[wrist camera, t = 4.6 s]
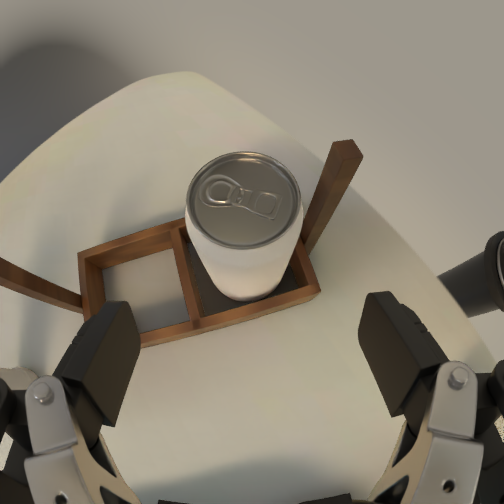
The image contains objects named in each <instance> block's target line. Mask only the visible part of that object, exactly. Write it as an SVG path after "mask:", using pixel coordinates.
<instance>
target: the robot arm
mask: <svg viewBox="0 0 504 504" xmlns="http://www.w3.org/2000/svg"><path fill="white" fill-rule="evenodd" d="M496 266H497V272H498V277H499V280H500V283H501V286H502V288H503V290H504V239H503V240H501V241H500V243H499V244H498V247H497V252H496ZM421 322H422V321H421V320H420V319H419V317H418V316H417V315H416V314H415V312H414V311H412V310H411V309H410V308H408V307H407V306H405V305H404V304H400V303H399V302H398V301H397V299H396V298H395V297H394V295H393V294H392V293H391V292H390V291H384V292H374V293H369V294H368V295H367V296H366V299H365V304H364V308H363V312H362V316H361V320H360V324H359V328H358V340H359V344H360V346H361V349H362V351H363V353H364V355H365V357H366V359H367V362H368V364H369V366H370V368H371V371H372V373H373V375H374V377H375V380H376V382H377V384H378V387H379V389H380V391H381V394H382V396H383V398H384V401H385V403H386V405H387V408H388V410H389V413H390V415H391V418H392V417H396V416H399V415H402V414H404V416H405V418H406V420H405V422H404V423H403V426H402V429H401V432H400V434H399V437H398V440H397V443H396V445H395V448H394V451H393V453H392V456H391V458H390V461H389V463H388V465H387V468H386V470H385V472H384V473H383V475H382V476H381V478H380V479H379V480H378V482H377V483H376V485H375V486H374V488H373V490H372V491H371V493H370V495H369V497H368V499H367V501H366V500H352V499H351V495H350V493H347V494H343V495H338V496H334V497H329V498H324V499H318V500H312V501H305V502H302V503H299V504H472V503H473V500H474V496H475V492H476V488H477V492H478V495H479V499H480V502H481V504H504V444H503V442H502V439H501V437H500V435H499V433H498V430H497V428H496V426H495V424H494V422H495V421H496V420H497V419H498V418H499V417H500V416H501V415H502V416H503V418H504V360H501V361H499V362H498V364H497V365H496V367H495V368H494V370H493V371H492V373H477V374H475V373H474V371H473V370H472V369H471V368H470V367H469V366H468V365H466V364H464V363H462V362H459V361H449V359H448V358H447V356H446V355H445V353H444V352H443V350H442V349H441V348H440V346H439V345H438V343H437V342H436V341H435V339H434V338H433V336H432V335H431V334H430V332H428V331H427V328H426V327H425V325H424V324H422V323H421ZM140 349H141V339H140V335H139V332H138V329H137V326H136V323H135V320H134V317H133V314H132V310H131V307H130V305H129V303H128V302H127V301H106V302H105V303H104V304H103V306H102V307H101V309H100V310H99V312H98V313H97V315H95V314H94V315H93V316H92V317H91V318H89V319H88V320H87V321H86V322H84V323H83V325H82V326H81V328H80V330H79V331H78V333H77V336H75V338H74V339H73V341H72V344H70V346H69V347H68V349H67V351H66V352H65V354H64V356H63V357H62V359H61V361H60V362H59V364H58V366H57V368H56V369H55V371H54V373H53V375H52V376H42V377H39V378H37V379H36V380H34V381H33V382H32V383H31V384H30V385H29V387H28V388H27V390H11V388H10V387H9V386H8V385H7V383H6V382H5V381H4V380H3V379H2V378H0V443H1V441H2V438H3V435H4V433H5V432H6V433H7V434H8V435H9V436H10V437H11V438H12V439H13V443H12V446H11V449H10V452H9V455H8V458H7V461H6V464H5V467H4V469H3V470H2V471H0V504H142V503H141V502H140V500H139V499H138V497H137V496H136V495H135V493H134V492H133V491H132V490H131V489H130V487H129V486H128V485H127V484H126V483H125V481H124V480H123V478H122V476H121V474H120V472H119V470H118V468H117V466H116V464H115V462H114V460H113V458H112V456H111V454H110V452H109V450H108V447H107V445H106V443H105V441H104V438H103V436H102V434H101V433H100V429H101V426H102V425H106V426H111V427H115V424H116V421H117V418H118V415H119V411H120V408H121V405H122V402H123V399H124V396H125V393H126V390H127V387H128V384H129V381H130V378H131V376H132V373H133V370H134V367H135V364H136V362H137V359H138V356H139V353H140ZM158 504H187V503H179V502H171V501H165V500H158Z"/></svg>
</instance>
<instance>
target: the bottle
mask: <svg viewBox="0 0 504 504" xmlns="http://www.w3.org/2000/svg"><path fill="white" fill-rule="evenodd" d="M0 378H2V379H3V380H4V381H5V382H6V383H7V385H8V386H9V387H10V388H11V390H27V388H28V387H29V385H30V384H31V383H32V382H33V381H34V380H36V379H37V378H38V376H37V375H36V374H35V373H34V372H33V371H31V370H29V369H26V368H23V367H15V368H12V369H7V368H0Z"/></svg>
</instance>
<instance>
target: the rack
mask: <svg viewBox="0 0 504 504" xmlns="http://www.w3.org/2000/svg"><path fill="white" fill-rule="evenodd" d="M362 159H363V155H362V153H361V151H360V150H359V148H358V147H357V145H356V144H355V142H354V141H353V140H352V139H350V140H343V141H336V142H333V143H332V146H331V149H330V152H329V154H328V157H327V160H326V163H325V165H324V168H323V171H322V174H321V176H320V179H319V182H318V184H317V187H316V190H315V192H314V195H313V198H312V200H311V203H310V206H309V208H308V211H307V213H306V216H305V219H304V221H303V224H302V228H301V232H300V235H299V238H298V240H297V243H296V246H295V248H294V250H293V253H292V255H291V258H290V260H289V263H290V265H291V268H292V271H293V274H294V277H295V279H296V282H297V285H298V289H295V290H292V291H289V292H286V293H283V294H280V295H276V296H273V297H270V298H267V299H264V300H260V301H257V302H254V303H250V304H247V305H244V306H240V307H237V308H234V309H230V310H227V311H223V312H220V313H216V314H213V315H209V316H206V315H205V312H204V308H203V304H202V301H201V297H200V293H199V289H198V285H197V282H196V278H195V274H194V270H193V266H192V261H191V257H190V253H189V249H188V245H187V243H190V242H192V241H191V239H190V237H189V234H188V231H187V227H186V222H185V217H184V218H181V219H178V220H174V221H171V222H168V223H165V224H161V225H158V226H155V227H152V228H149V229H146V230H142V231H139V232H136V233H133V234H130V235H127V236H124V237H121V238H118V239H115V240H112V241H109V242H107V243H104V244H101V245H98V246H95V247H92V248H90V249H87V250H84V251H81V252H78V253H77V254H78V271H79V283H80V292H81V295H79V294H76V293H74V292H72V291H69V290H67V289H65V288H62V287H60V286H58V285H56V284H53V283H51V282H49V281H47V280H45V279H42V278H40V277H38V276H36V275H34V274H32V273H30V272H28V271H26V270H24V269H22V268H20V267H18V266H16V265H14V264H12V263H10V262H8V261H6V260H4V259H3V258H1V257H0V285H1V286H3V287H6V288H8V289H11V290H13V291H16V292H18V293H21V294H24V295H26V296H29V297H32V298H35V299H37V300H40V301H43V302H46V303H49V304H52V305H55V306H58V307H61V308H64V309H67V310H70V311H74V312H77V313H80V314H83V316H84V322H86V321H87V320H88V319H89V318H91V317H92V316H93V315H94V314H95V315H97V313H98V312H99V310H100V309H101V307H102V306H103V304H104V303H105V302H106V298H105V291H104V283H103V275H102V269H105V268H108V267H111V266H114V265H117V264H121V263H124V262H127V261H130V260H133V259H137V258H140V257H143V256H146V255H150V254H153V253H156V252H159V251H163V250H166V249H169V248H173V250H174V255H175V259H176V264H177V268H178V273H179V277H180V281H181V286H182V290H183V294H184V298H185V302H186V306H187V310H188V314H189V318H190V321H187V322H183V323H179V324H176V325H172V326H168V327H164V328H160V329H156V330H152V331H148V332H144V333H140V334H139V335H140V339H141V348H145V347H149V346H154V345H158V344H162V343H166V342H170V341H174V340H178V339H182V338H186V337H190V336H194V335H198V334H202V333H205V332H209V331H213V330H216V329H220V328H223V327H227V326H230V325H234V324H237V323H241V322H244V321H248V320H251V319H254V318H257V317H261V316H264V315H267V314H270V313H273V312H277V311H280V310H283V309H286V308H289V307H292V306H295V305H298V304H301V303H304V302H307V301H310V300H312V299H313V298H314V297H316V296H317V295H318V294H319V293H320V292H321V289H320V286H319V283H318V280H317V278H316V275H315V272H314V270H313V267H312V265H311V262H310V259H309V257H308V255H309V254H310V253H311V251H312V249H313V248H314V246H315V244H316V243H317V241H318V239H319V237H320V236H321V234H322V232H323V230H324V229H325V227H326V225H327V223H328V222H329V220H330V218H331V216H332V215H333V213H334V211H335V209H336V207H337V206H338V204H339V202H340V200H341V198H342V197H343V195H344V193H345V191H346V189H347V187H348V186H349V184H350V182H351V180H352V178H353V176H354V174H355V172H356V171H357V169H358V167H359V165H360V163H361V161H362Z"/></svg>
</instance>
